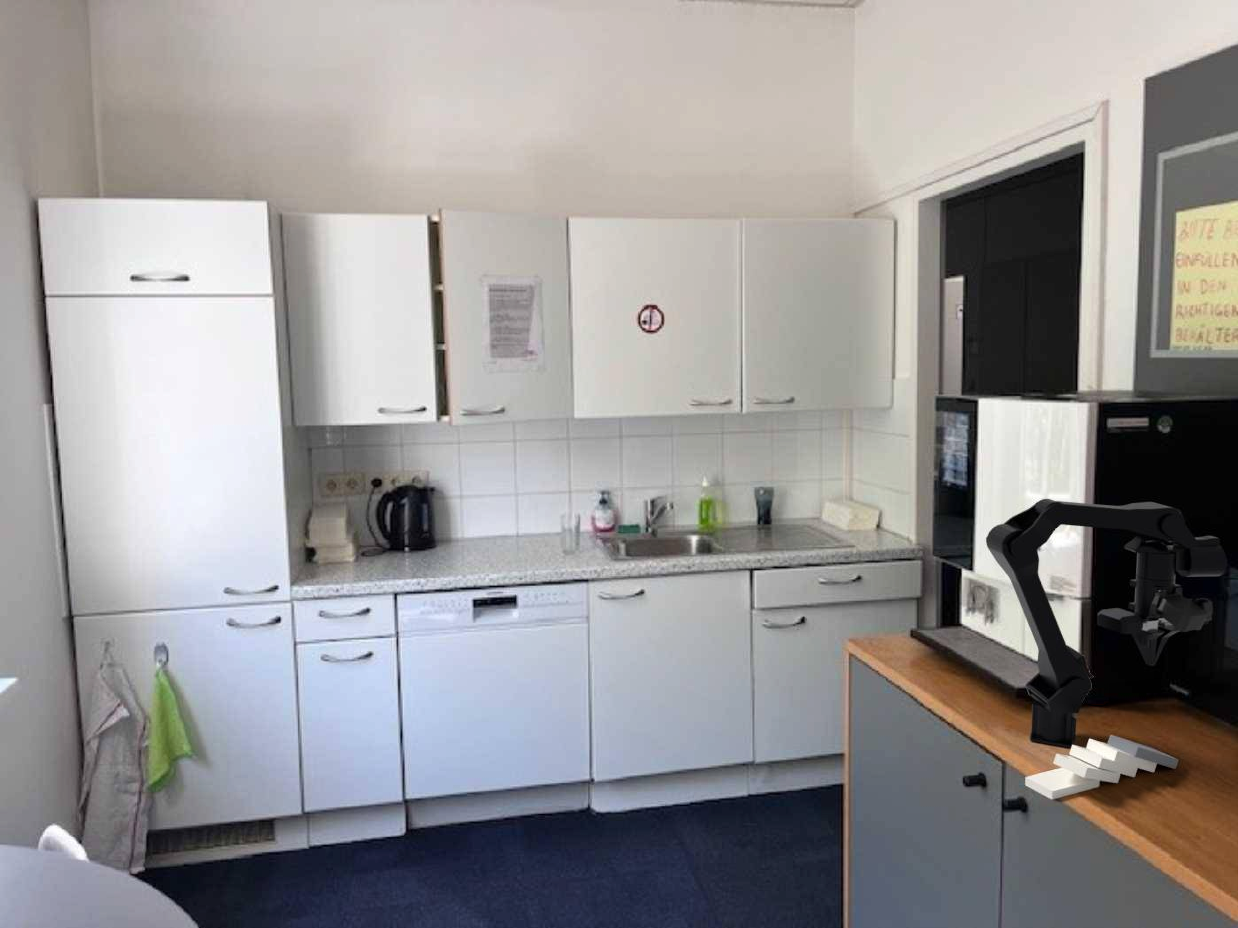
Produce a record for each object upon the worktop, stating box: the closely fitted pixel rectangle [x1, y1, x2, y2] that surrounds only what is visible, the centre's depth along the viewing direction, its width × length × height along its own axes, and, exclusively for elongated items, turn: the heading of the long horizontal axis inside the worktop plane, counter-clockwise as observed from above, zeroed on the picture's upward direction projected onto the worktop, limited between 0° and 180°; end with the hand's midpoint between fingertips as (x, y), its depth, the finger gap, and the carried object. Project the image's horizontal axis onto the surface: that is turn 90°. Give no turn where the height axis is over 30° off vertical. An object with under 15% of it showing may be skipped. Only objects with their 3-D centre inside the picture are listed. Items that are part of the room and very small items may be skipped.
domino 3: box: [1068, 744, 1139, 778], centre depth 139 cm, size 2×5×10 cm
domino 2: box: [1053, 753, 1121, 784], centre depth 137 cm, size 2×5×10 cm
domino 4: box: [1085, 738, 1158, 773], centre depth 141 cm, size 2×5×10 cm
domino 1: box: [1024, 767, 1101, 800], centre depth 137 cm, size 2×5×10 cm
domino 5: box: [1106, 734, 1179, 770], centre depth 142 cm, size 2×5×10 cm
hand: (1150, 664), depth 152 cm, fingers closed
